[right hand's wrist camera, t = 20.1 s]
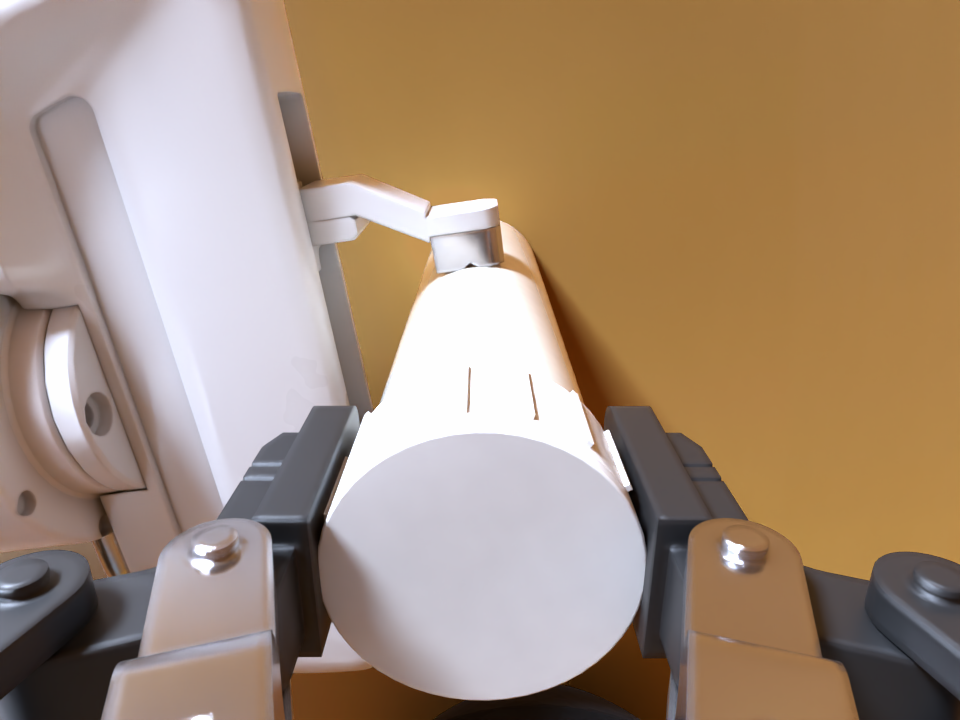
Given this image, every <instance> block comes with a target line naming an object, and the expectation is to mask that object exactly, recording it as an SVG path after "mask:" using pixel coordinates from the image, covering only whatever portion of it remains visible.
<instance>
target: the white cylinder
mask: <svg viewBox="0 0 960 720" xmlns="http://www.w3.org/2000/svg"><path fill="white" fill-rule="evenodd" d="M500 226H501V234H502V242H503V251H504V262H502V263H500V264H498V265H493V266H488V267H477V266H475V265H473V264H471V263H469V264H468V265H467V266H466V267H465V268H464V269H463V270H459V271H452V272H445V273H437V272H436V267H435V261H434V256H433V251H432V250H431V253H430V255H429V258H428V261H427V264H426V267H425V270H424V273H423V276H422V279H421V282H420V285H419V288H418V291H417V294H416V297H415V300H414V303H413V306H412V309H411V312H410V315H409V318H408V321H407V324H406V327H405V329H404V332H403V335H402V338H401V341H400V344H399V347H398V350H397V353H396V356H395V359H394V362H393V365H392V368H391V371H390V374H389V377H388V380H387V383H386V386H385V389H384V392H383V395H382V398H381V401H380V404H381V403H382V402H383V401H384V400H385V399H387V398H388V397H389V396H390V395H391V394H393V393H394V392H396V391H397V390H398V389H400V388H401V387H403V386H404V385H405V383H406V381H407V380H408V379H410V378H412V379H413V380H416V379H418V378H420V377H422V376H425V375H428V374H430V373H433V372H436V371H439V370H443V369H447V368H452V367H456V366H461V364H462V363H467V362H468V363H469V365H499V366H506V367H513V368H517V369H520V367H525V368H527V370H528V372H531V373H534V374H536V375H539V376H541V377H544V378H546V379H548V380H550V381H552V382H554V383H556V384H557V385H559V386H561V387H563V388H564V389H566V390H567V391H568V392H570V393H571V392H572V391H574V392H576V393H577V394H578V396H579V399H580V401H581V402H582V403H583V404H584V401H583V398H582V395H581V392H580V389H579V386H578V383H577V380H576V377H575V375H574V372H573V369H572V366H571V363H570V360H569V357H568V354H567V351H566V348H565V345H564V342H563V339H562V336H561V333H560V330H559V327H558V324H557V321H556V318H555V315H554V312H553V309H552V306H551V303H550V300H549V298H548V295H547V292H546V289H545V286H544V283H543V280H542V277H541V274H540V271H539V268H538V265H537V262H536V259H535V256H534V253H533V251H532V248H531V247H530V245H529V243H528V242H527V240H526V239H525V238H524V236H523V235H522V234H521V233H520V232H519V231H517V230H516V229H515V228H514V227H512V226H510V225H509V224H507V223H505V222H502V221H500ZM380 404H379V405H380ZM584 405H585V404H584Z"/></svg>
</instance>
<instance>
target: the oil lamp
mask: <svg viewBox="0 0 960 720" xmlns="http://www.w3.org/2000/svg"><path fill="white" fill-rule="evenodd" d="M433 720H640V719H638V718H637V717H635V716H634V715H632V714H631V713H629V712H627V711H626V710H624V709H622V708H621V707H619V706H617V705H615V704H613V703H611V702H609V701H607V700H605V699H603V698H601V697H599V696H596V695H594V694H591V693H589V692H586V691H583V690H580V689H576V688H573V687H570V686H564V685H558V686H555V687H553V688H550V689H548V690H545V691H541V692H538V693H534V694H531V695H527V696H522V697H516V698H511V699H502V700H490V701H482V700H465V701H463V702H461V703H459V704H457V705H455V706H453V707H451V708H450V709H448V710H446V711H445V712H443V713H441V714H440V715H438V716H437V717H436V718H434V719H433Z"/></svg>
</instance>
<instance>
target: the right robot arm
mask: <svg viewBox="0 0 960 720" xmlns="http://www.w3.org/2000/svg"><path fill="white" fill-rule="evenodd" d="M359 429H360V425H359V415H358V410H357V407H356V406H313V407H312V409H311V411H310V413H309V415H308V416H307V418H306V420H305V422H304V424H303V426H302V427H301V429H300V431H299V432H283V433H281V434H280V435H279V436H277V437H276V438H274V439H273V440H271V441H270V442H268V443H267V444H265V445H264V446H262V448H261V449H260V451H259V453H258V454H257V456H256V457H255V459H254V460H253V462H252V467H249V468H248V470H247V472H246V473H245V475H244V476H243V481H240V483H239V484H238V486H237V488H236V489H235V491H234V492H233V494H232V496H231V497H230V499H229V500H228V502H227V503H226V505H225V507H224V508H223V510H222V511H221V513H220V515H219V516H218V518H217V519H216V520H213V521H209V522H205V523H202V524H199V525H197V526H194V527H192V528H190V529H188V530H186V531H184V532H182V533H180V534H179V535H177V536H176V537H175V538H173V539H172V540H171V541H170V542H169V543H168V544H167V545H166V546H165V547H164V548H163V550H162V552H161V553H160V556H159V559H158V563H157V566H156V567H153V568H150V569H146V570H142V571H137V572H132V573H127V574H122V575H118V576H113V577H108V578H103V579H98V580H93V578H92V574H91V571H90V567H89V564H88V561H87V560H86V559H85V557H84V556H82V555H80V554H78V553H75V552H72V551H66V550H49V551H41V552H35V553H31V554H27V555H23V556H20V557H17V558H14V559H11V560H9V561H6V562H4V563H1V564H0V720H294V711H293V696H292V688H291V681H290V679H291V677H292V674H293V671H294V668H295V665H296V662H297V659H298V657H322V654H323V651H324V647H325V644H326V640H327V637H328V633H329V630H330V626H331V623H332V621H331V619H330V617H329V615H328V613H327V610H326V608H325V605H324V603H323V599H322V591H321V582H320V573H319V562H318V544H319V540H320V536H321V532H322V528H323V526H324V523H325V520H324V512H325V509H326V506H327V504H328V501H329V498H330V496H331V493H332V490H333V488H334V485H335V483H336V480H337V477H338V475H339V472H340V469H341V467H342V464H343V461H344V459H345V456H346V457H349V455H350V452H351V449H352V447H353V445H354V442H355V440H356V437H357V434H358V432H359ZM607 430H609V431H610V433H611V435H612V437H613V440H614V442H615V445H616V448H617V450H618V453H619V455H620V458H621V460H622V463H623V465H624V468H625V471H626V473H627V476H628V478H629V481H630V483H631V486H632V488H633V490H631V491H629V492H628V493H629V496H630V498H631V501H632V504H633V506H634V509H635V512H636V514H637V517H638V520H639V523H640V525H641V528H642V531H643V534H644V538H645V544H646V549H647V555H646V566H645V576H644V585H643V593H642V600H641V603H640V606H639V609H638V611H637V613H636V615H635V617H634V619H633V621H632V623H633V626H634V629H635V633H636V636H637V640H638V643H639V647H640V650H641V654H642V657H643V658H667V660H668V663H669V666H670V669H671V673H670V681H669V688H668V696H667V712H666V720H960V565H959V564H957V563H955V562H952V561H949V560H946V559H943V558H940V557H937V556H933V555H929V554H923V553H917V552H895V553H890V554H886V555H884V556H882V557H880V558H879V559H878V560H877V561H876V562H875V564H874V567H873V570H872V574H871V578H870V581H868V580H863V579H858V578H853V577H848V576H843V575H838V574H833V573H828V572H824V571H820V570H816V569H812V568H809V567H806V566H803V563H802V559H801V556H800V553H799V552H798V550H797V548H796V547H795V546H794V545H793V544H792V543H791V542H790V541H789V540H788V539H787V538H785V537H784V536H783V535H781V534H780V533H778V532H776V531H774V530H772V529H770V528H768V527H766V526H763V525H761V524H758V523H755V522H751V521H749V520H748V519H747V517H746V516H745V514H744V513H743V511H742V510H741V508H740V506H739V505H738V503H737V502H736V500H735V499H734V497H733V495H732V494H731V492H730V491H729V489H728V488H727V486H726V484H725V483H724V481H721V477H720V475H719V473H718V472H717V470H716V469H715V467H712V463H711V461H710V459H709V458H708V456H707V455H706V453H705V452H704V450H703V448H702V447H701V446H699V445H698V444H696V443H695V442H693V441H692V440H690V439H689V438H687V437H686V436H684V435H683V434H682V433H665V432H664V430H663V428H662V426H661V424H660V423H659V421H658V419H657V417H656V415H655V414H654V412H653V410H652V408H651V407H650V406H608V407H607V409H606V412H605V418H604V432H605V431H607Z"/></svg>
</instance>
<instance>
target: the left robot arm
mask: <svg viewBox="0 0 960 720" xmlns="http://www.w3.org/2000/svg"><path fill="white" fill-rule="evenodd" d="M371 221H372V222H375V223H378V224H380V225H383V226H386V227H388V228H391V229H394V230H396V231H399V232H402V233H404V234H407V235H410V236H412V237H415V238H418V239H420V240H423V241H426V242H429V243H430V240H431V246H432V251H433V256H434V261H435V267H436V272H437V273H445V272H452V271H459V270H463V269H464V268H465V267H466V266H467V265H468V264H469V263H471V264H473V265H475V266H477V267H488V266H493V265H498V264H500V263H502V262H504V251H503V242H502V234H501V226H500V218H499V211H498V204H497V199H480V200H473V201H466V202H459V203H452V204H445V205H438V206H431V204H430V202H429V201H427V200H424V199H422V198H420V197H417V196H415V195H412V194H410V193H407V192H405V191H403V190H400V189H398V188H395V187H393V186H391V185H388V184H386V183H383V182H381V181H378V180H376V179H374V178H371V177H369V176H366V175H364V174H358V175H351V176H345V177H338V178H331V179H324V180H323V178H322V173H321V169H320V164H319V160H318V155H317V150H316V146H315V141H314V137H313V132H312V128H311V123H310V119H309V114H308V110H307V105H306V100H305V96H304V91H303V87H302V82H301V78H300V73H299V69H298V64H297V60H296V55H295V51H294V46H293V41H292V37H291V32H290V28H289V23H288V18H287V14H286V9H285V4H284V0H0V553H4V552H11V551H18V550H26V549H35V548H43V547H52V546H60V545H69V544H77V543H86V542H90V541H91V543H92V545H93V548H94V550H95V552H96V555H97V557H98V559H99V562H100V564H101V566H102V568H103V570H104V572H105V574H106V576H107V577H113V576H118V575H122V574H127V573H132V572H137V571H142V570H146V569H150V568H153V567H156V566H157V563H158V559H159V556H160V553H161V552H162V550H163V548H164V547H165V546H166V545H167V544H168V543H169V542H170V541H171V540H172V539H173V538H175V537H176V536H177V535H179V534H180V533H182V532H184V531H186V530H188V529H190V528H192V527H194V526H197V525H199V524H202V523H205V522H209V521H213V520H216V519H217V518H218V516H219V515H220V513H221V511H222V510H223V508H224V507H225V505H226V503H227V502H228V500H229V499H230V497H231V496H232V494H233V492H234V491H235V489H236V488H237V486H238V484H239V483H240V481H243V476H244V475H245V473H246V472H247V470H248V468H249V467H252V462H253V460H254V459H255V457H256V456H257V454H258V453H259V451H260V449H261V448H262V446H264V445H265V444H267V443H268V442H270V441H271V440H273V439H274V438H276V437H277V436H279V435H280V434H281V433H283V432H299V431H300V429H301V427H302V426H303V424H304V422H305V420H306V418H307V416H308V415H309V413H310V411H311V409H312V407H313V406H356V407H357V410H358V415H359V425H360V426H361V424H362V421H363V418H364V416H365V414H366V413H367V412H370V413H371V414H372V413H373V412H374V410H373V405H372V401H371V396H370V392H369V387H368V382H367V378H366V373H365V369H364V364H363V360H362V355H361V351H360V346H359V342H358V337H357V332H356V328H355V323H354V319H353V314H352V310H351V305H350V301H349V296H348V291H347V287H346V282H345V278H344V273H343V269H342V264H341V260H340V255H339V251H338V246H337V243H338V242H345V241H351V240H355V239H356V238H357V237H358V236H359V235H360V233H361V232H362V231H363V230H364V229H365V228H366V227H367V225H368V224H369V223H370V222H371ZM372 667H373V666H371V665H370V664H369V663H367V662H366V661H365V660H363V659H362V658H361V657H360V656H359V655H358V654H357V653H356V652H355V651H354V650H353V649H352V648H351V647H350V646H349V645H348V644H347V642H346V641H345V640H344V639H343V637H342V636H341V635H340V634H339V632H338V631H337V629H336V627H335V626H334V624H333V622H332V623H331V626H330V630H329V633H328V637H327V640H326V644H325V647H324V651H323V654H322V657H298V659H297V662H296V665H295V668H294V671H293V673H328V672H347V671H359V670H365V669H369V668H372Z"/></svg>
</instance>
